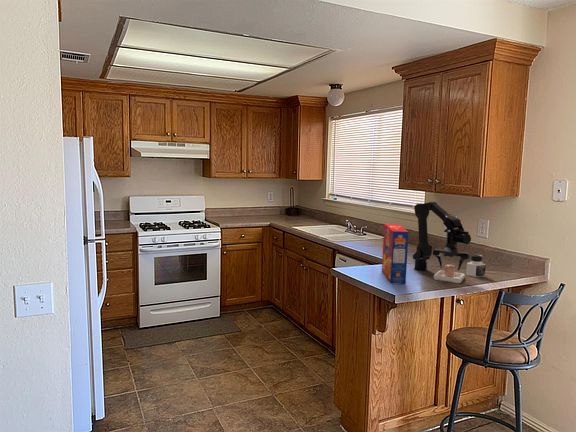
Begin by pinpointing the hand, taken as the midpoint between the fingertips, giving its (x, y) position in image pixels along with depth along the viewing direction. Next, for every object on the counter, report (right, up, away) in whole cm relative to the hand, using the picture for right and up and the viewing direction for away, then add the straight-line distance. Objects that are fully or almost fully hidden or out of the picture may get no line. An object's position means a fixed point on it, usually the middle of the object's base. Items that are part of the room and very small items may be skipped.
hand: (450, 269), depth 244 cm
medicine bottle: (+18, -5, +10) cm, 21 cm away
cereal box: (-31, -5, +2) cm, 31 cm away
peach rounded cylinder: (0, -5, +1) cm, 5 cm away
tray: (0, -6, +1) cm, 6 cm away
